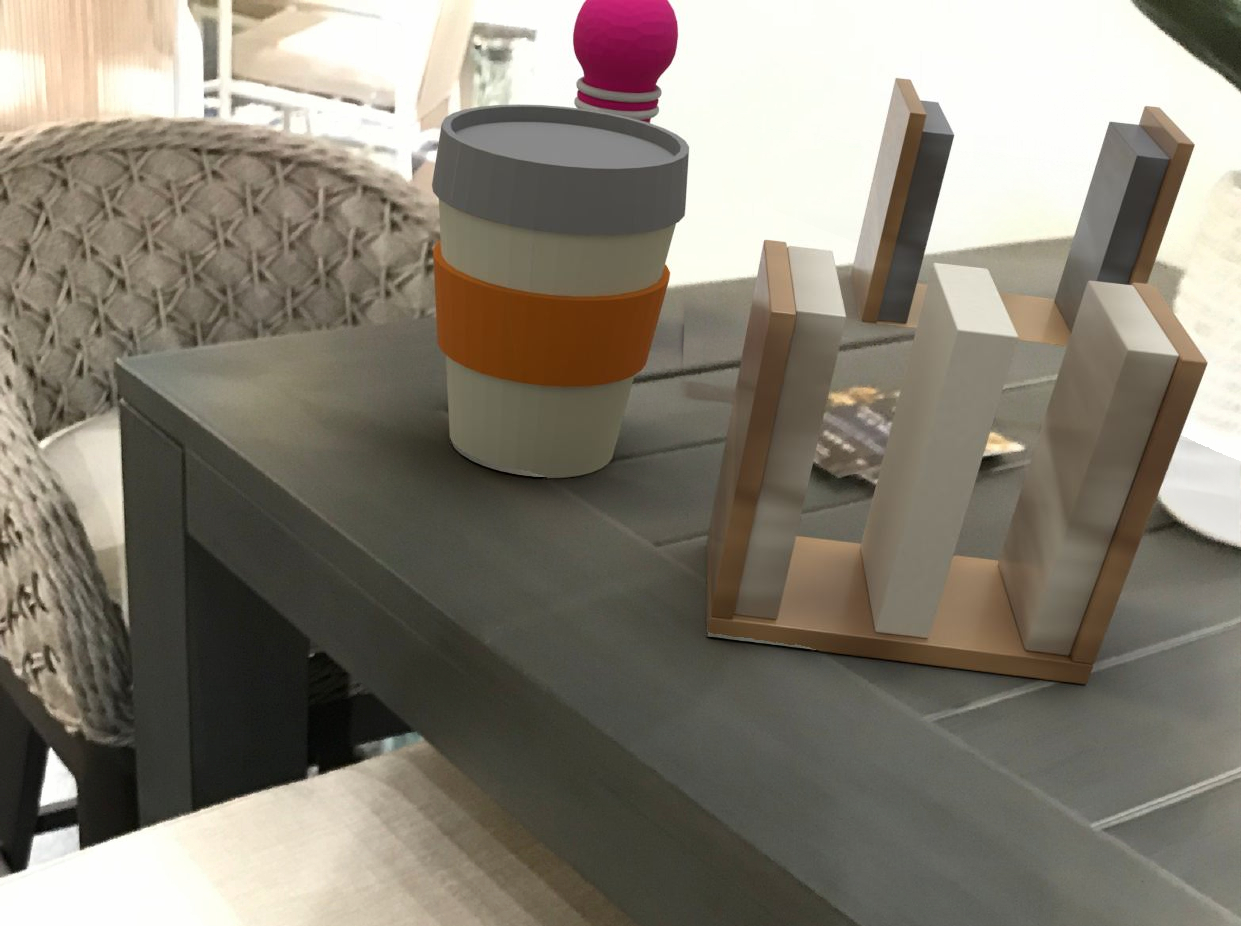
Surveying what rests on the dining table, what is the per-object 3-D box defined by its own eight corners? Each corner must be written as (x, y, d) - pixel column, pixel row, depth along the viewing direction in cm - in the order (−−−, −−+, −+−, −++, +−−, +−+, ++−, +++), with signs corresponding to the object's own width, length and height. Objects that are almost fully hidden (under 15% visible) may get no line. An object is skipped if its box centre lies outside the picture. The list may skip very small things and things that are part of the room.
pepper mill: (664, 325, 104) (722, -45, 91) (611, 353, 100) (665, -33, 86) (567, 298, 107) (610, -66, 94) (511, 324, 102) (548, -55, 89)
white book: (909, 553, 79) (988, 268, 70) (928, 639, 72) (1019, 336, 63) (859, 547, 79) (933, 261, 70) (874, 632, 72) (957, 328, 63)
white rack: (1050, 586, 79) (1155, 284, 70) (1086, 685, 72) (1208, 362, 63) (706, 543, 80) (764, 238, 71) (706, 637, 73) (771, 310, 63)
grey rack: (1091, 318, 113) (1160, 107, 104) (1119, 367, 105) (1195, 144, 96) (847, 290, 113) (895, 77, 105) (857, 336, 106) (910, 112, 97)
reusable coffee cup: (677, 434, 91) (728, 134, 81) (597, 512, 82) (644, 186, 72) (473, 385, 94) (498, 90, 84) (376, 455, 85) (390, 135, 75)
